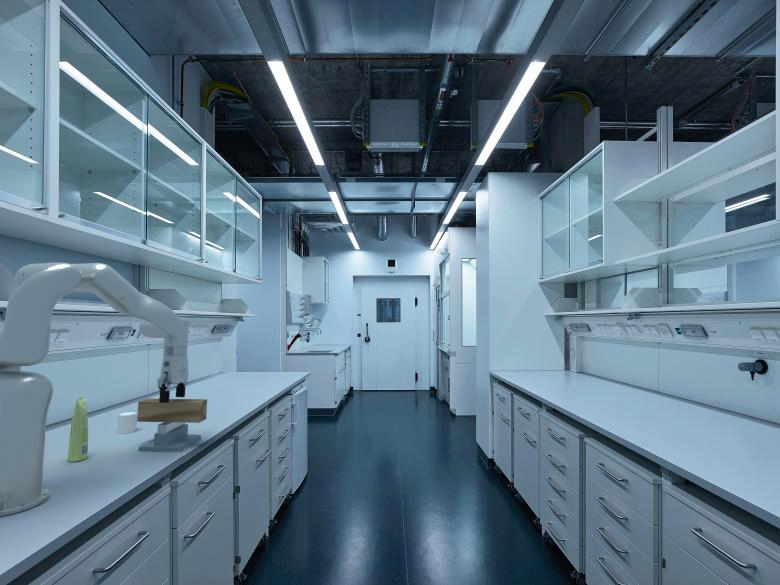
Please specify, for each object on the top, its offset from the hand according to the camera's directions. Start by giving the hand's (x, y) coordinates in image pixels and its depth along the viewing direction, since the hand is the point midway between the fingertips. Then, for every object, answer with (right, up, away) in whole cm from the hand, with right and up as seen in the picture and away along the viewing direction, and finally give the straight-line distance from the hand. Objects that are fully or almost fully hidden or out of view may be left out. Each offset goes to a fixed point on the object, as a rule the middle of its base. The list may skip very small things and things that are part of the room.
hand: (172, 399), depth 136 cm
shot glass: (-26, -17, +14) cm, 34 cm away
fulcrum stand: (0, -16, -1) cm, 16 cm away
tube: (-21, -15, -15) cm, 30 cm away
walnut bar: (0, -7, 0) cm, 7 cm away
